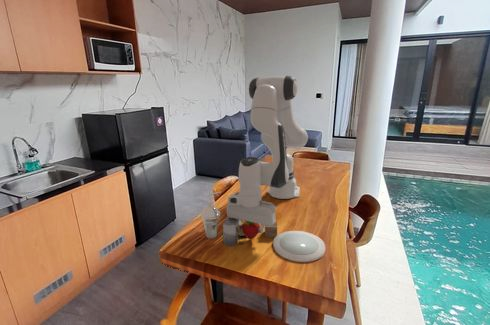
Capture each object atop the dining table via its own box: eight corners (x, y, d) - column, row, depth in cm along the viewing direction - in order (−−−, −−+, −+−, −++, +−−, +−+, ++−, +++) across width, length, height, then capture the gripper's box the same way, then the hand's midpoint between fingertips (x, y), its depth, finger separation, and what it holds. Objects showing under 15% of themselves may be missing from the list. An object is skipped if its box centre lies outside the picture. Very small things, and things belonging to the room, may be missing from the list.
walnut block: (265, 231, 115) (265, 221, 113) (276, 232, 114) (276, 221, 113) (265, 237, 110) (265, 226, 108) (277, 238, 109) (277, 227, 108)
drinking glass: (228, 236, 111) (227, 216, 108) (240, 239, 108) (240, 219, 106) (220, 244, 105) (219, 223, 103) (234, 247, 103) (233, 226, 101)
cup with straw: (207, 229, 117) (205, 187, 112) (225, 232, 114) (224, 189, 109) (197, 238, 110) (194, 194, 104) (216, 242, 106) (214, 196, 101)
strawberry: (258, 244, 104) (258, 222, 101) (240, 242, 106) (239, 219, 103) (261, 237, 109) (261, 215, 107) (244, 234, 111) (243, 213, 109)
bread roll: (249, 224, 119) (249, 216, 118) (254, 235, 111) (254, 227, 110) (231, 226, 118) (231, 218, 117) (235, 237, 109) (235, 228, 108)
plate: (281, 229, 116) (282, 226, 115) (328, 239, 108) (329, 236, 107) (265, 253, 98) (265, 250, 98) (320, 267, 90) (320, 264, 90)
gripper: (278, 199, 101) (277, 231, 105) (231, 192, 110) (232, 222, 113) (272, 206, 96) (272, 239, 99) (224, 197, 104) (225, 228, 108)
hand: (250, 230), depth 106 cm, fingers closed on strawberry, 7 cm apart
